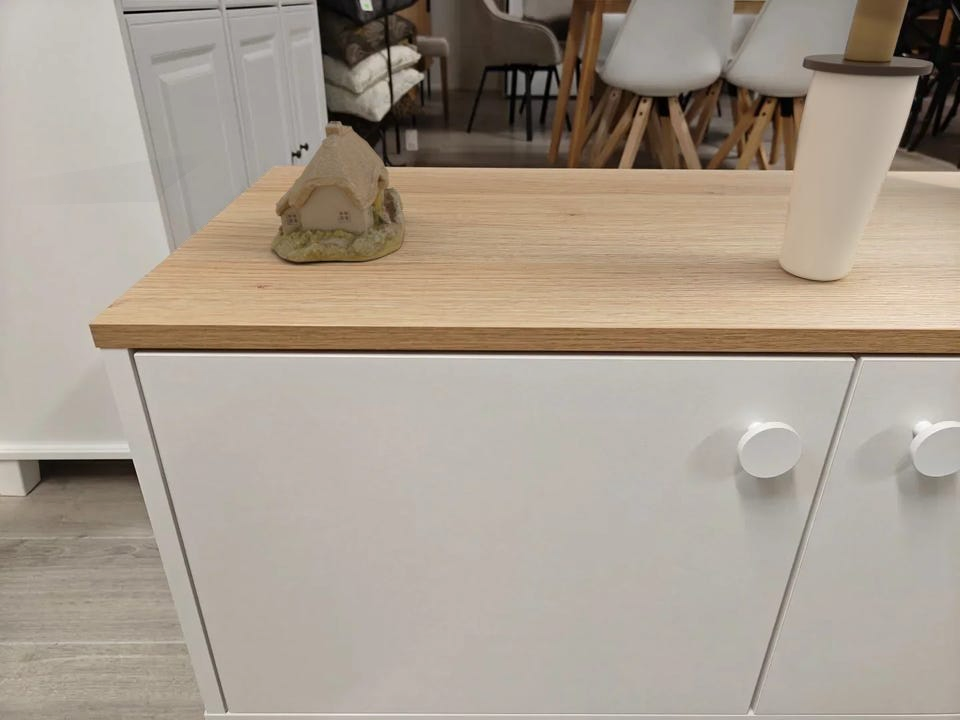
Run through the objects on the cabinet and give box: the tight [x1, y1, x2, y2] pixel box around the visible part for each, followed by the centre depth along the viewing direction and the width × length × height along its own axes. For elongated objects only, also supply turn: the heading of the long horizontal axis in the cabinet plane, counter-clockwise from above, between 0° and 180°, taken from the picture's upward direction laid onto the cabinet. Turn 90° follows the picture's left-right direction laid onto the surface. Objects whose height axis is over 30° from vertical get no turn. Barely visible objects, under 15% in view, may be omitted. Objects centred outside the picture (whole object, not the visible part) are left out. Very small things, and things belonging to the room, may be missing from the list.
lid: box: [802, 0, 934, 77], centre depth 45 cm, size 8×8×6 cm
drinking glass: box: [778, 70, 920, 282], centre depth 51 cm, size 7×7×15 cm
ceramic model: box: [270, 120, 406, 263], centre depth 58 cm, size 14×11×10 cm
